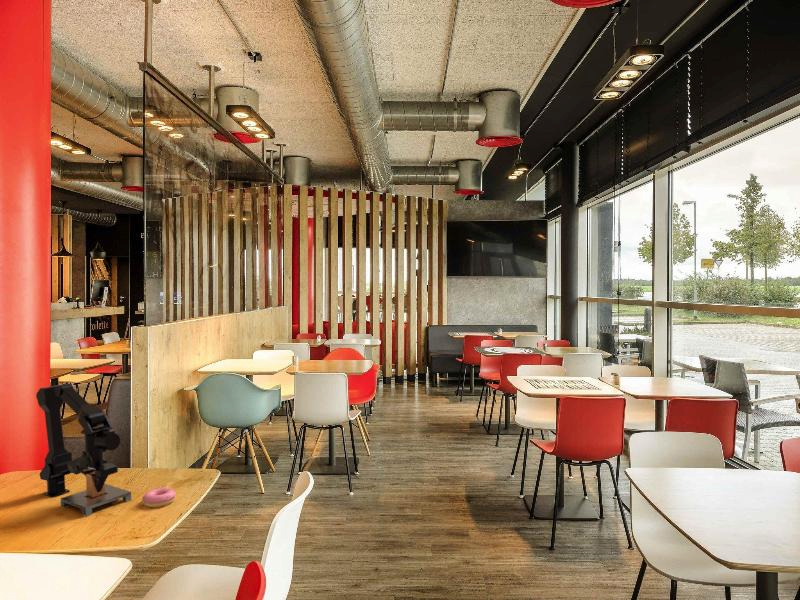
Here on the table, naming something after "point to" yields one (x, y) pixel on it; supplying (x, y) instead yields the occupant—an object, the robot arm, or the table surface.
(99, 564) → the table surface
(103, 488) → the square wooden peg
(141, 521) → the table surface
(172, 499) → the doughnut
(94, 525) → the table surface
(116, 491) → the slotted plate
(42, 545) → the table surface
